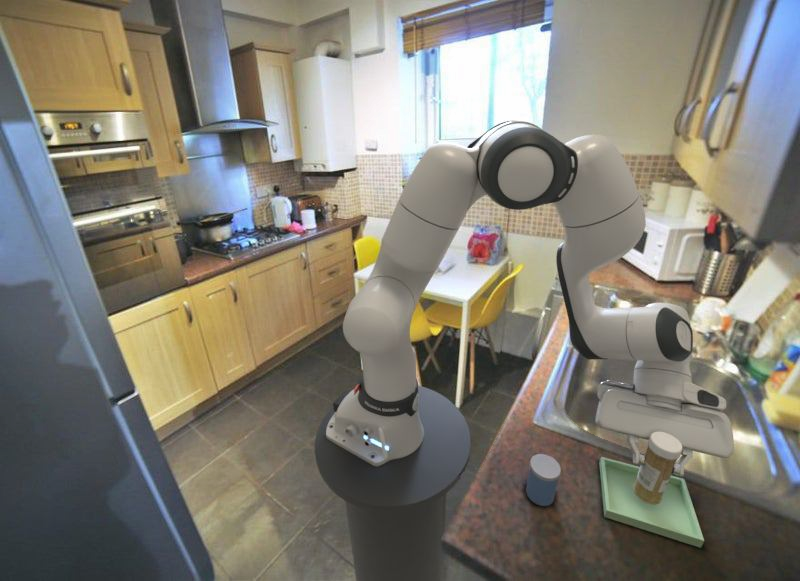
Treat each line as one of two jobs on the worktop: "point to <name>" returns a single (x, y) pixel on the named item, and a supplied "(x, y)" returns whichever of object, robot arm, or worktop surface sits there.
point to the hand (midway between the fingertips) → (657, 469)
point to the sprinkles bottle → (657, 467)
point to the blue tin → (542, 479)
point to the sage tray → (664, 518)
